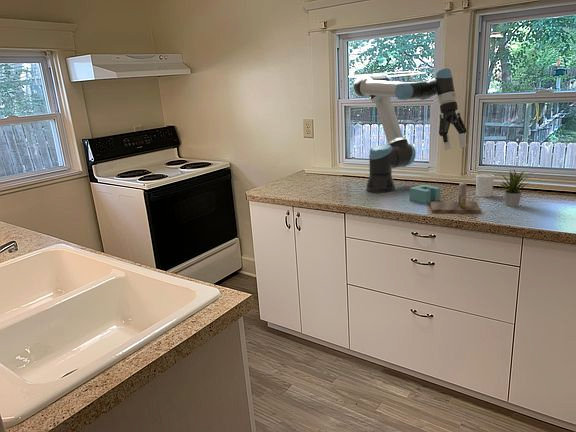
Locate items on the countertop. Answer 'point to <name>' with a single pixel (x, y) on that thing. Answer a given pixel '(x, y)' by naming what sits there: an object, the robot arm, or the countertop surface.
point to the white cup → (484, 185)
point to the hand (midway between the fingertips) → (456, 148)
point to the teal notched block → (424, 193)
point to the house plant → (513, 189)
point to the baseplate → (456, 204)
